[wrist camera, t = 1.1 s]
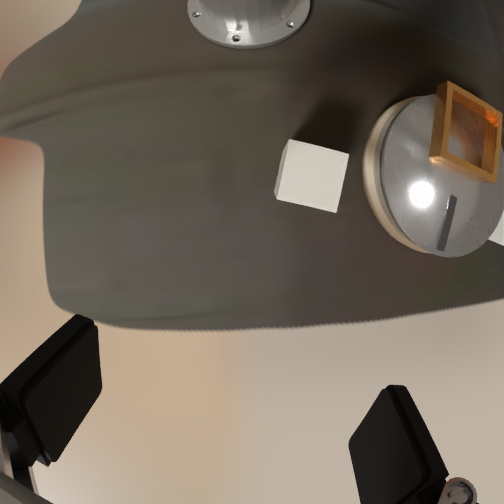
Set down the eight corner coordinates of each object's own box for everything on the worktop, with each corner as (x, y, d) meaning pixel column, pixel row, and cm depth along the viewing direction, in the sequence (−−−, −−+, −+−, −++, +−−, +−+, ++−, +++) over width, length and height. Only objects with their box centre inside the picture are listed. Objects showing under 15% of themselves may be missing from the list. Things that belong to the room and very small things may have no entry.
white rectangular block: (282, 151, 27) (289, 139, 18) (324, 160, 27) (348, 154, 18) (274, 192, 28) (276, 199, 19) (315, 201, 28) (336, 212, 19)
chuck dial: (473, 262, 26) (499, 276, 21) (357, 230, 26) (375, 242, 21) (497, 133, 22) (525, 131, 17) (385, 78, 22) (407, 61, 17)
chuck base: (373, 78, 24) (380, 72, 22) (488, 132, 24) (498, 131, 22) (344, 229, 28) (350, 233, 26) (463, 261, 28) (473, 266, 26)
